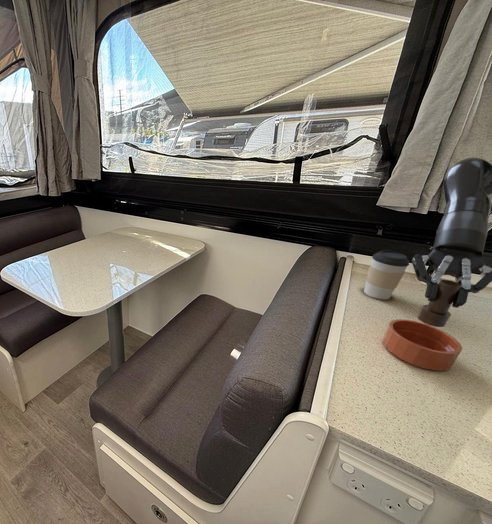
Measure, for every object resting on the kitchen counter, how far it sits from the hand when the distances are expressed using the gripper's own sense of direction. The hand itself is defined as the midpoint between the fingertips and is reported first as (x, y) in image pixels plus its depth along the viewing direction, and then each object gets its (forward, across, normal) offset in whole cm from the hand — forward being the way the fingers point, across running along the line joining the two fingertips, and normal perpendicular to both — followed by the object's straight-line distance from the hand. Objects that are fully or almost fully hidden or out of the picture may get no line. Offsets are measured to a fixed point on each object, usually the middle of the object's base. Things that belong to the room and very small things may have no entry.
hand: (443, 302), depth 58 cm
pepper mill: (+3, 0, +6) cm, 6 cm away
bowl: (+10, 0, +12) cm, 16 cm away
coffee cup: (-11, -8, +34) cm, 36 cm away
